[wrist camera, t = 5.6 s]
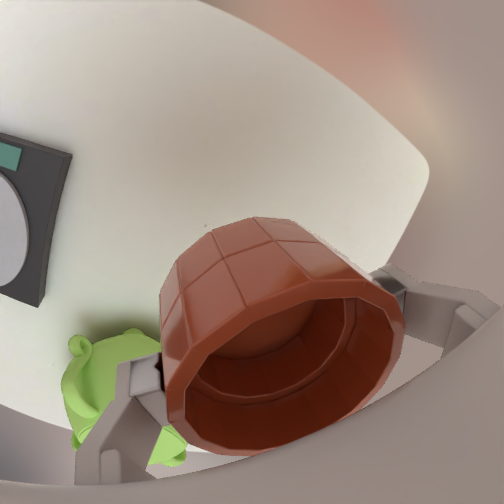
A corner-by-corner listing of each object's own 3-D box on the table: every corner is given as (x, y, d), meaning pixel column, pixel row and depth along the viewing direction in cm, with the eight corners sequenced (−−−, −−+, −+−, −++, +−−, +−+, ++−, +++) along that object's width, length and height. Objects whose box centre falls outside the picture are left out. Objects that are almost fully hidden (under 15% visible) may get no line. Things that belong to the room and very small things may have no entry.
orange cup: (128, 251, 9) (110, 349, 5) (320, 189, 10) (415, 237, 6) (195, 382, 12) (217, 473, 8) (334, 330, 13) (390, 399, 9)
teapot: (80, 283, 24) (44, 383, 13) (214, 320, 30) (247, 419, 19) (69, 388, 28) (57, 473, 17) (173, 411, 34) (187, 493, 23)
